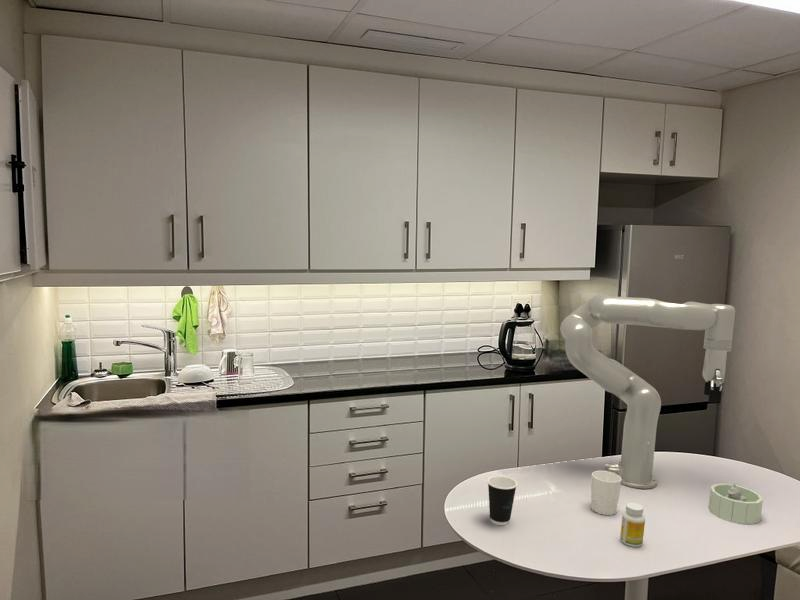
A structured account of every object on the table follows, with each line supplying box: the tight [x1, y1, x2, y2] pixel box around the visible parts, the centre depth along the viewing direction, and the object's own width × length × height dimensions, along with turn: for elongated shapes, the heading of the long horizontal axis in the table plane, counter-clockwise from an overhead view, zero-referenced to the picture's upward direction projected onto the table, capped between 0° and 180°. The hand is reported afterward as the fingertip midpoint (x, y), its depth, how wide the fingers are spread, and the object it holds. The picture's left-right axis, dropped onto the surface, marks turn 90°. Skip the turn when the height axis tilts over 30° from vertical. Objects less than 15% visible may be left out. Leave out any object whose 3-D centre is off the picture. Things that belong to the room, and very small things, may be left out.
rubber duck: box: [726, 483, 746, 502], centre depth 170 cm, size 5×7×8 cm
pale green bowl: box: [708, 483, 764, 525], centre depth 170 cm, size 13×13×6 cm
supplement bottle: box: [619, 502, 646, 548], centre depth 151 cm, size 5×5×10 cm
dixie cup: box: [486, 475, 518, 526], centre depth 159 cm, size 8×8×11 cm
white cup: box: [590, 470, 622, 516], centre depth 168 cm, size 8×8×10 cm
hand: (711, 398), depth 185 cm, fingers open, 9 cm apart
